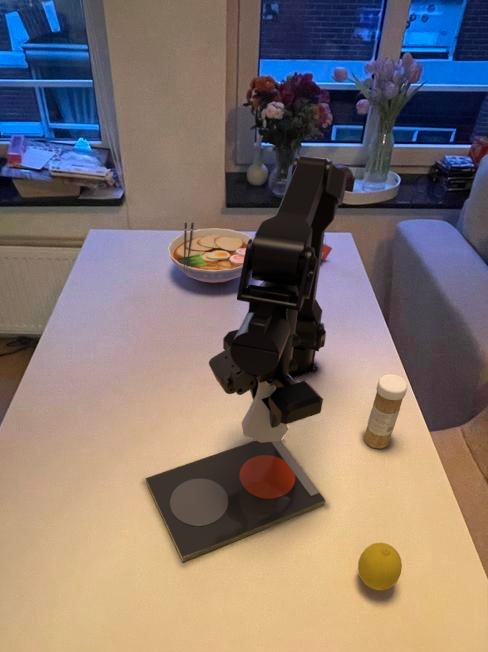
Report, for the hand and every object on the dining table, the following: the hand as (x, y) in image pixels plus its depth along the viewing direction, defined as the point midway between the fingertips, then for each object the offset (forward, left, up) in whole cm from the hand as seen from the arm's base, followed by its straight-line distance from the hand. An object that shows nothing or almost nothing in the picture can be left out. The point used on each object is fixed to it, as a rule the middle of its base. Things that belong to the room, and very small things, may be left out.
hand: (265, 414), depth 79 cm
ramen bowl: (-20, -62, -13) cm, 67 cm away
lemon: (-5, +25, -13) cm, 28 cm away
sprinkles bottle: (-22, +3, -13) cm, 25 cm away
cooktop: (+6, +3, -13) cm, 14 cm away
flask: (0, 0, -3) cm, 3 cm away
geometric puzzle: (-48, -58, -13) cm, 76 cm away
